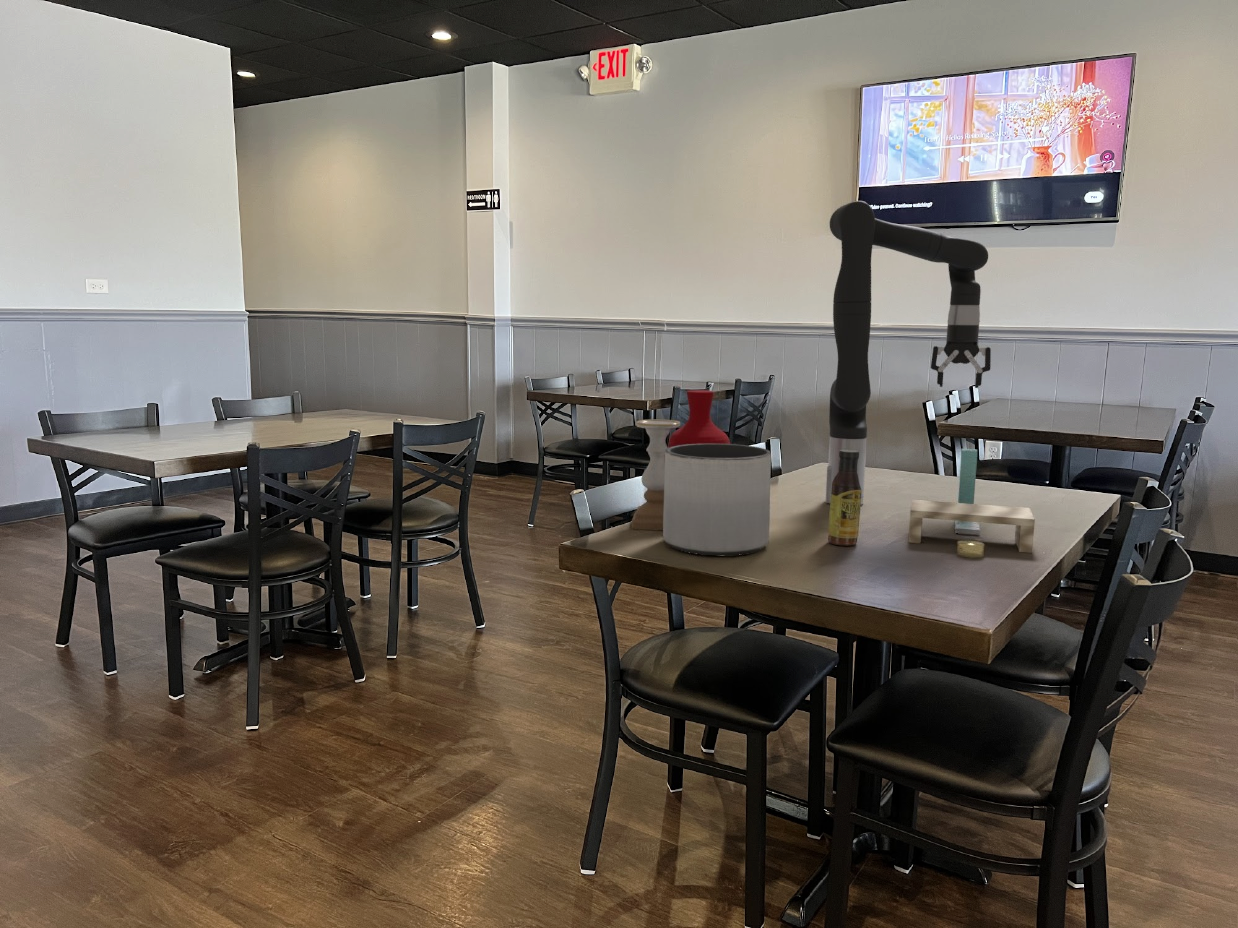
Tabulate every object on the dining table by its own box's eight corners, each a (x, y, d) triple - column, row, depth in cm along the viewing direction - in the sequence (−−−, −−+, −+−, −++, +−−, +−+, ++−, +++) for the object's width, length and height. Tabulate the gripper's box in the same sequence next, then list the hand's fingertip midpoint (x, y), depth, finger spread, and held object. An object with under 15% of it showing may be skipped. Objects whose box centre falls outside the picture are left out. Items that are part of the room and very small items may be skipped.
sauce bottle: (841, 548, 182) (845, 453, 179) (821, 541, 187) (825, 449, 184) (865, 544, 185) (870, 451, 182) (844, 538, 190) (849, 447, 187)
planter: (705, 564, 169) (708, 461, 166) (642, 540, 188) (643, 447, 185) (791, 549, 181) (794, 453, 178) (723, 528, 199) (725, 440, 196)
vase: (674, 506, 222) (677, 388, 217) (733, 510, 218) (736, 389, 213) (660, 518, 208) (662, 392, 203) (722, 523, 204) (725, 394, 199)
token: (957, 557, 176) (958, 545, 176) (956, 551, 181) (957, 539, 180) (984, 559, 175) (985, 547, 174) (982, 553, 179) (983, 541, 179)
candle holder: (681, 520, 207) (683, 419, 203) (679, 531, 196) (681, 424, 192) (635, 519, 208) (635, 418, 204) (631, 529, 197) (631, 424, 194)
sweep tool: (955, 533, 196) (960, 462, 193) (953, 512, 218) (958, 448, 215) (979, 535, 194) (984, 463, 191) (975, 514, 216) (980, 449, 213)
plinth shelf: (908, 542, 187) (910, 510, 186) (910, 530, 199) (912, 499, 197) (1032, 552, 179) (1034, 519, 178) (1026, 539, 191) (1029, 507, 189)
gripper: (933, 323, 222) (929, 387, 225) (994, 323, 218) (989, 389, 220) (933, 323, 229) (929, 385, 232) (992, 324, 225) (987, 387, 227)
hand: (958, 387), depth 226 cm, fingers open, 8 cm apart
